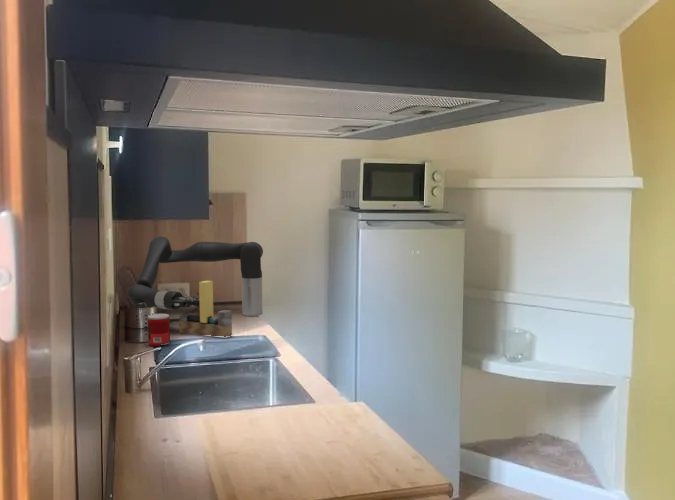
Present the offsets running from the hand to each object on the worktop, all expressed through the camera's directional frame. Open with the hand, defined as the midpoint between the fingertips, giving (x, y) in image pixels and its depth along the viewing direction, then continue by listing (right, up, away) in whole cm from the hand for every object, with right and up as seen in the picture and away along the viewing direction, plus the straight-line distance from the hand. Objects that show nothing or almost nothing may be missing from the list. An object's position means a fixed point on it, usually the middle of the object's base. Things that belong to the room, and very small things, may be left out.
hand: (202, 303), depth 265 cm
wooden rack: (+1, -13, +2) cm, 13 cm away
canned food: (-14, -14, -13) cm, 24 cm away
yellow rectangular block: (+2, -7, +1) cm, 7 cm away
